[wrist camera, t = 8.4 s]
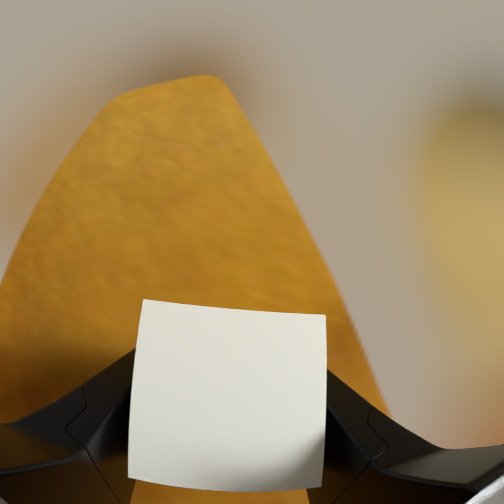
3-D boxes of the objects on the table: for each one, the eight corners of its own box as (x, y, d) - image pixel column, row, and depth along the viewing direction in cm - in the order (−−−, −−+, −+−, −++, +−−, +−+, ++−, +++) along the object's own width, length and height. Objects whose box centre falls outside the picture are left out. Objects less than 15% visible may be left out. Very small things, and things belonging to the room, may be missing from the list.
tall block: (255, 430, 13) (321, 486, 4) (180, 424, 13) (127, 477, 4) (258, 360, 15) (325, 314, 6) (185, 354, 15) (143, 299, 6)
